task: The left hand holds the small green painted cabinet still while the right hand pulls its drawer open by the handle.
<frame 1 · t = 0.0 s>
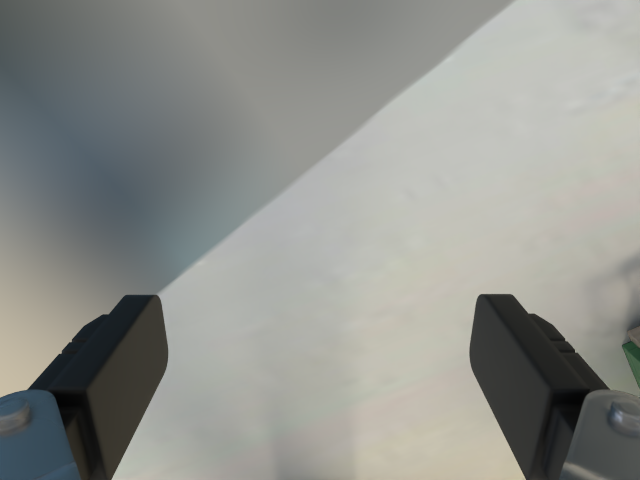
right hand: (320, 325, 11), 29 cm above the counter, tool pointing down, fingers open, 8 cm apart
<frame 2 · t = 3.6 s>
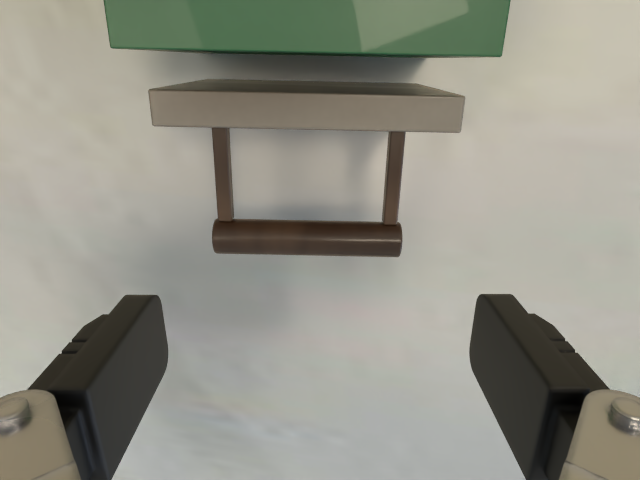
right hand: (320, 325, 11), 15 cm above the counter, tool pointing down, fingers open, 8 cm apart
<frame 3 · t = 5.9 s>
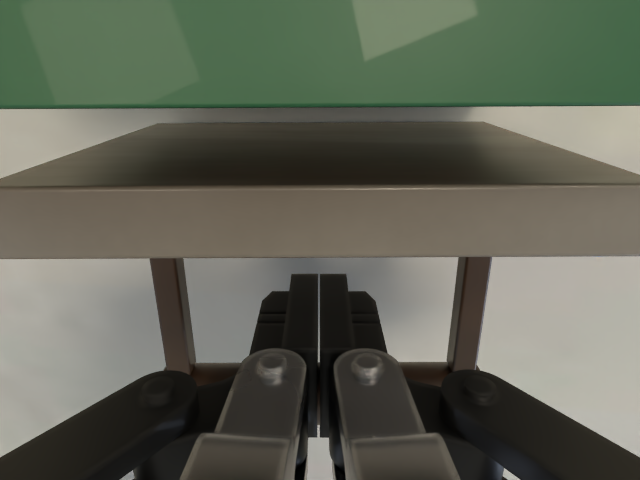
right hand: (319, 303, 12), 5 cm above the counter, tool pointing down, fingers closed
when the left hand's fingers open (6 cm above the counter, at t = 8.7 s): cabinet stays where it is, on the counter.
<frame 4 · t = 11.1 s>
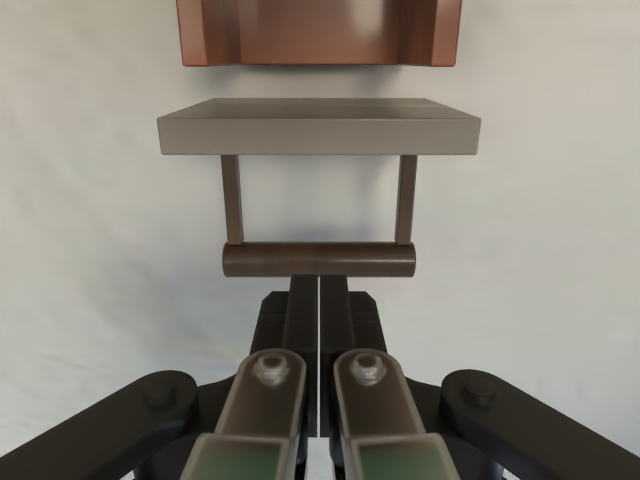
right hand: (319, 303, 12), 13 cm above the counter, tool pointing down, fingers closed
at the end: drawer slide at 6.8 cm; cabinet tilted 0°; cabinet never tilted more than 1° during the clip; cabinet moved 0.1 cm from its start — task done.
